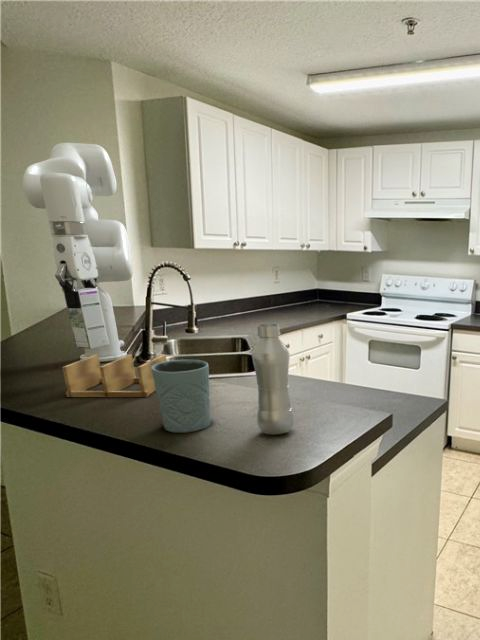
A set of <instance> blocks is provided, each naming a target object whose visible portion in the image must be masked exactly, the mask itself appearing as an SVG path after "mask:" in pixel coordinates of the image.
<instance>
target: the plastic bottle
mask: <svg viewBox="0 0 480 640" xmlns="http://www.w3.org/2000/svg"><path fill="white" fill-rule="evenodd" d="M256 328H257V337H259V339H258V341H257V343H256V344H255V346H254V347H253V350H252V354H251V358H252V363H253V364H252V365H253V369H254V372H255V376H256V384H257V390H258V397H257V402H258V404H257V405H258V406H257V407H258V409H257V414H256V416H257V418H256V423H257V426H258V429H259V430H260V431H261V433H263V434H264V435H265V434H266V435H282V434H287V433H288V432H290V431H292V428H293V426H294V421H295V417H294V411H293V408H292V406H291V405H292V404H291V398H290V392H289V371H290V359H291V358H290V355H291V354H290V352H289V349H288V348H287V346H286V345H285V343H284V342H283V341H282V340H281V339H280V336H281V331H280V325H279V324H278V323H260V324H257V327H256Z"/></svg>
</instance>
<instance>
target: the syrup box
mask: <svg viewBox="0 0 480 640" xmlns="http://www.w3.org/2000/svg"><path fill="white" fill-rule="evenodd" d="M76 291H78V292H79V297H80V302H81V308H67V304H66V299H65V294H64V292H63V291H62V292H63V297H64V301H65V306H66V310H67V314H68V318H69V321H70V322H69V323H70V327H71V331H72V336H73V340H74V344H75V348H77V349H78V348H79V349H84V348H87V349H94V348H100V347H105V346H109V340H108V336H107V331H106V327H105V322H104V317H103V313H102V308H101V303H100V298H99V294H98V289H97V288H76Z"/></svg>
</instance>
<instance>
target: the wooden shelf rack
mask: <svg viewBox="0 0 480 640" xmlns="http://www.w3.org/2000/svg"><path fill="white" fill-rule="evenodd" d="M166 361H167V355H166V354H164V353H163V354H160V355H159V356H157V357H154V358H153V359H151V360H149V361H147V362H145V363H142V364H140V365H139V366H137V367H136V368H135V364H134V358H133V354H132V353H129V354H127V355H126V356H124V357H122V358H119V359H117V360H114V361H109V362H108V363H106V364H103V365H101V362H100V361H99V356H98V354H95V355H92V356H90V357H87V358H84V359H82V360H80V359H79V360H76V361H74V362H72V363H68V364H66V365H64V366H62V367H61V368H62V373H63V377H64V382H65V387H66V391H65V394H66V398H148V397H150V395H151V394H153V393H154V392H156V388H155V383H154V378H153V374H152V369H151V367H152V366H153V365H155V364H157V363H161V362H166ZM135 369H136V370H137V375H136V370H135ZM101 383H102V387H103V388H102V389H103V390H90V389H92V388H93V387H95V386H97V385H100V384H101ZM133 384H139V387H140V390H124V389H126V388H128V387H130V386H131V385H133Z"/></svg>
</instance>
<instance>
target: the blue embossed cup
mask: <svg viewBox="0 0 480 640" xmlns="http://www.w3.org/2000/svg"><path fill="white" fill-rule="evenodd" d="M151 369H152V374H153V378H154V383H155V388H156V391H155V393H156V397H157V400H158V406H159V410H160V414H161V419H162V423H163V428H164V429H165V431H167V432H171V433H178V434H179V433H181V434H183V433H192V432H197V431H201V430H204V429H206V428H208V427H209V426H210V425H211V422H212V421H211V420H212V419H211V400H210V396H211V395H210V394H211V393H210V367H209V363H208V362H207V361H205V360H201V359H174V360H166V362H161V363H157V364H155V365H153V366H152V367H151Z"/></svg>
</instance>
